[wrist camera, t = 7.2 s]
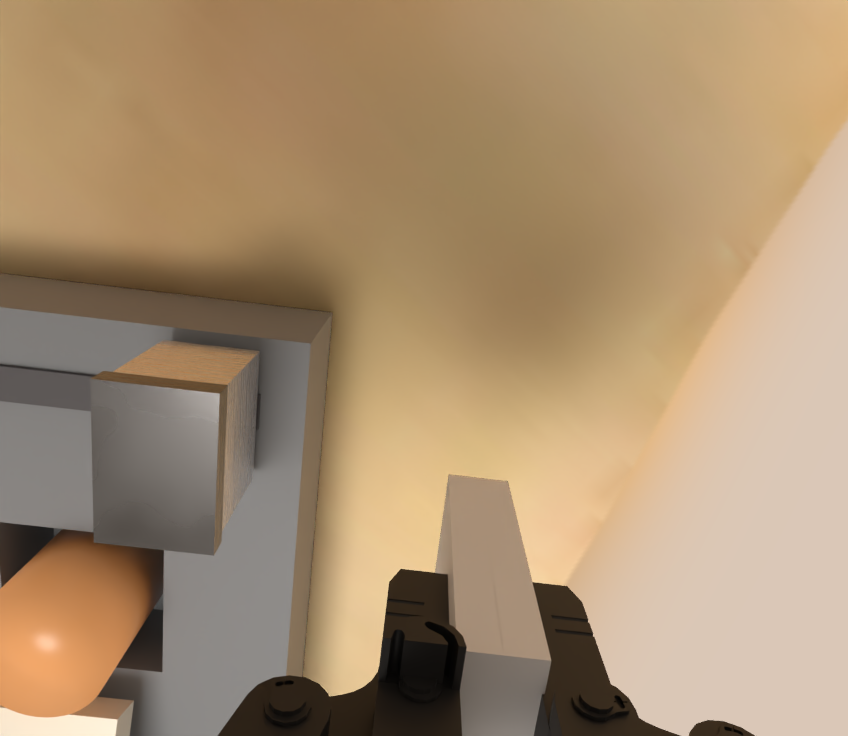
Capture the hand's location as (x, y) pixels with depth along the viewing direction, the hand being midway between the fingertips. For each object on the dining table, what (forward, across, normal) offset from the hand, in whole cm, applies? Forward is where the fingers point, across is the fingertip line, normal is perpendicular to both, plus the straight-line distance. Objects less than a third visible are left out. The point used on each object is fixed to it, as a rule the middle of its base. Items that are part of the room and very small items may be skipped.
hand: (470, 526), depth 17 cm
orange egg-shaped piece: (+9, -13, -8) cm, 17 cm away
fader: (+5, -8, 0) cm, 10 cm away
